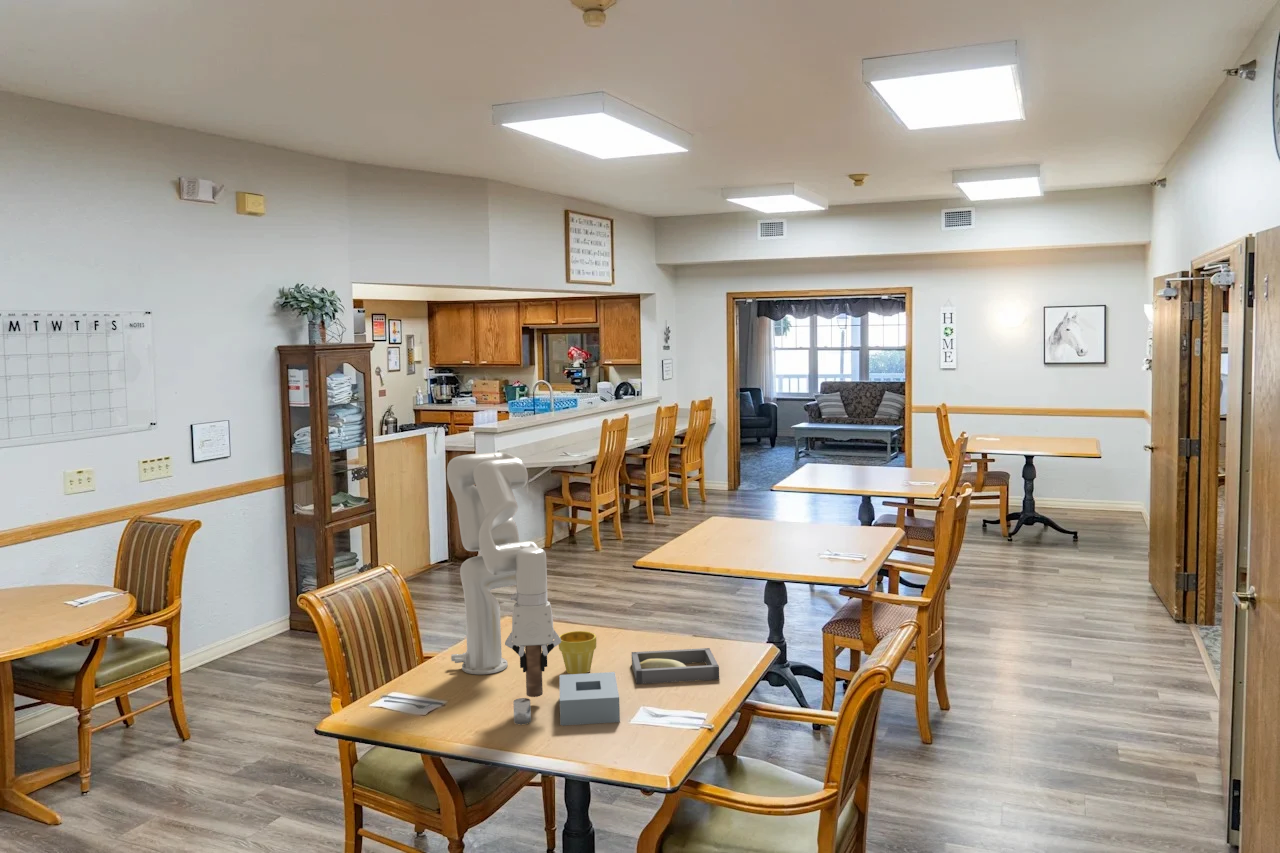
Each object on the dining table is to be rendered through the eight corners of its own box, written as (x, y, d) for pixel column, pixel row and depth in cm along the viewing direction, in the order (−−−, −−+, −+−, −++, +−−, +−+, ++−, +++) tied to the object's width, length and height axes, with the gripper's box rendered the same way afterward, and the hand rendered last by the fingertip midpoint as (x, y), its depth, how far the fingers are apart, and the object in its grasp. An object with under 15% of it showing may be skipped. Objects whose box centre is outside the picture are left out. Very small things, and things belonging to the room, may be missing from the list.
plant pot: (583, 679, 254) (582, 643, 253) (552, 674, 259) (550, 639, 259) (604, 668, 263) (603, 633, 262) (573, 662, 268) (572, 628, 268)
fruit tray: (636, 684, 250) (636, 671, 249) (631, 664, 265) (631, 652, 265) (719, 679, 251) (719, 666, 251) (709, 660, 267) (709, 648, 267)
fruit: (654, 665, 266) (653, 653, 266) (697, 675, 256) (697, 663, 256) (637, 672, 260) (637, 660, 260) (681, 683, 251) (680, 671, 251)
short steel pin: (513, 725, 224) (513, 704, 224) (514, 718, 228) (513, 698, 228) (530, 724, 224) (530, 703, 224) (531, 717, 228) (530, 697, 228)
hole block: (560, 725, 223) (559, 700, 223) (560, 698, 241) (559, 674, 240) (619, 722, 224) (619, 697, 224) (615, 694, 242) (614, 671, 242)
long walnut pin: (526, 697, 235) (524, 638, 233) (526, 691, 239) (525, 633, 237) (542, 696, 235) (541, 637, 234) (542, 690, 239) (541, 632, 238)
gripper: (496, 603, 230) (499, 677, 232) (566, 601, 231) (567, 674, 233) (498, 595, 238) (500, 666, 239) (565, 592, 239) (567, 663, 241)
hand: (533, 669), depth 236 cm, fingers closed on long walnut pin, 4 cm apart
